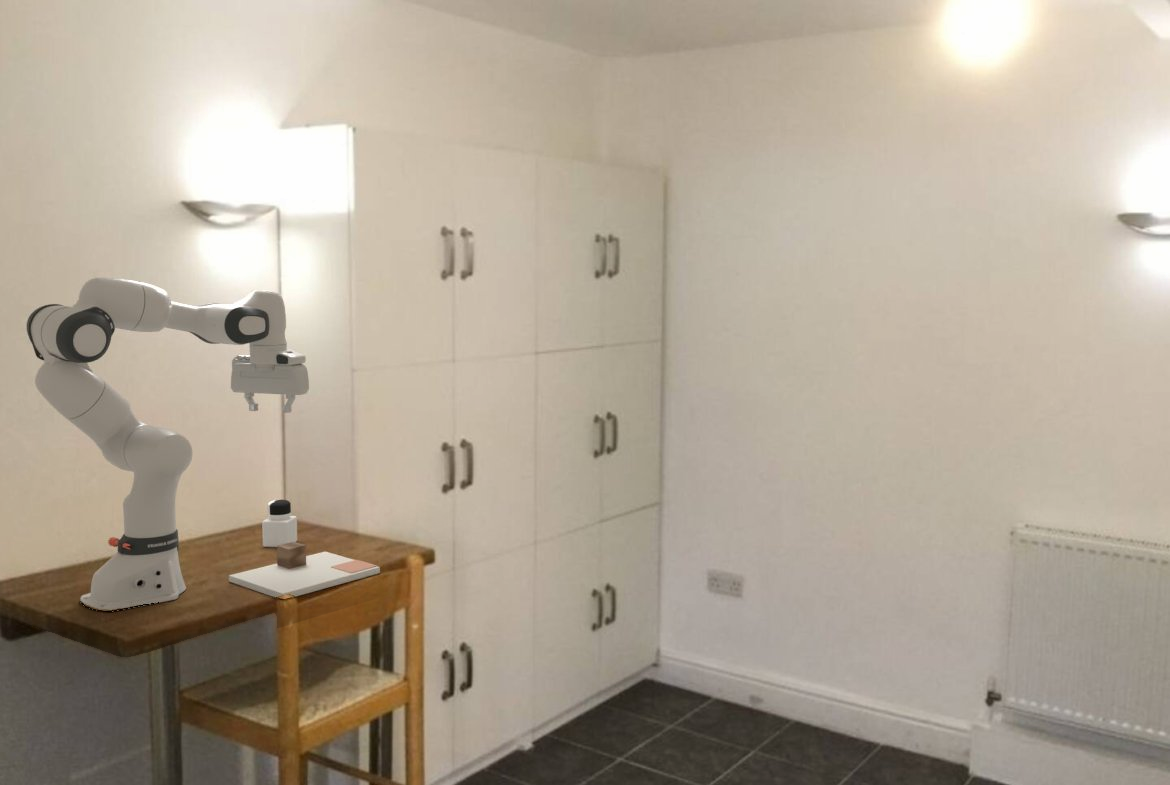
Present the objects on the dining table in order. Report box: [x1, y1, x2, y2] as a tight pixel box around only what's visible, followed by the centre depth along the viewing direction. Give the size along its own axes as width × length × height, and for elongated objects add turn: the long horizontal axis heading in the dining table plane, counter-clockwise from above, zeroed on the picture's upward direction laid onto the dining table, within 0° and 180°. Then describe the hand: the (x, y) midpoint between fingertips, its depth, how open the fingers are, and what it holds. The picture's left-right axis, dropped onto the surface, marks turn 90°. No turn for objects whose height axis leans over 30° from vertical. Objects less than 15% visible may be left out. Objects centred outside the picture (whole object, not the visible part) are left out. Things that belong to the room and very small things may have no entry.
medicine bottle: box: [261, 499, 298, 548], centre depth 290 cm, size 7×7×12 cm
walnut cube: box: [276, 541, 307, 569], centre depth 265 cm, size 5×5×5 cm
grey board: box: [228, 551, 381, 599], centre depth 260 cm, size 28×22×2 cm
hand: (270, 411), depth 265 cm, fingers open, 8 cm apart
